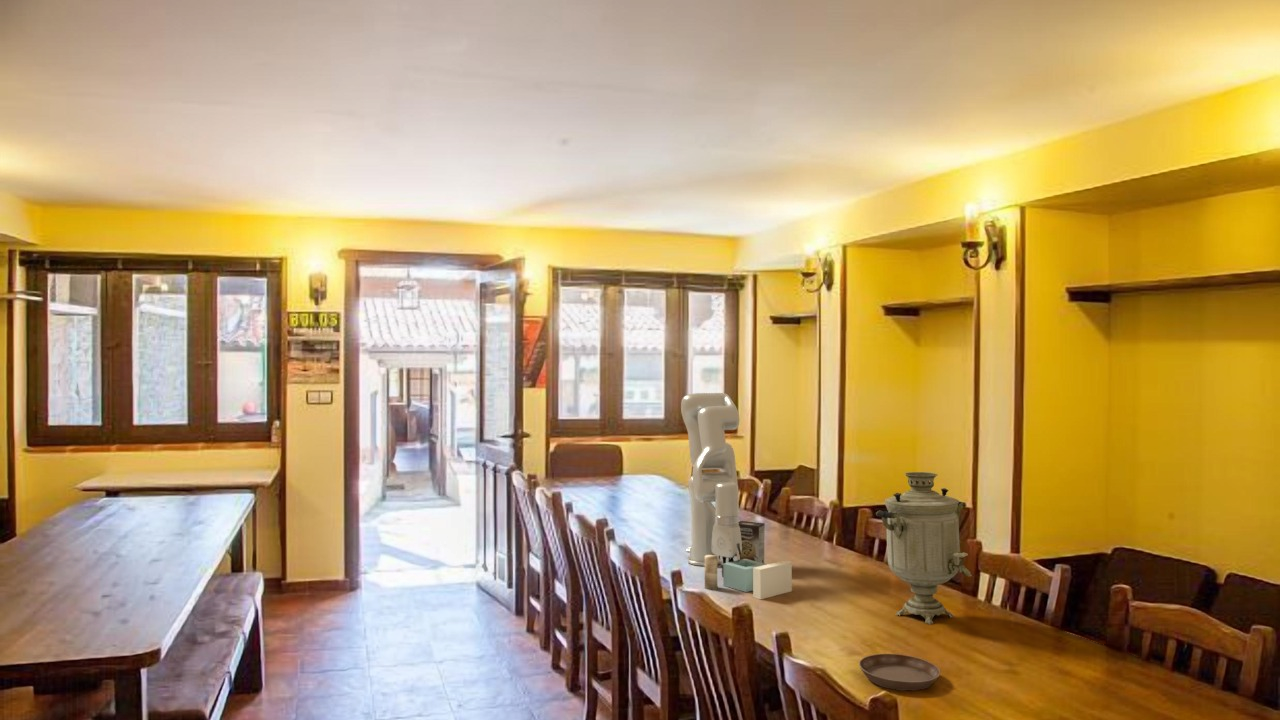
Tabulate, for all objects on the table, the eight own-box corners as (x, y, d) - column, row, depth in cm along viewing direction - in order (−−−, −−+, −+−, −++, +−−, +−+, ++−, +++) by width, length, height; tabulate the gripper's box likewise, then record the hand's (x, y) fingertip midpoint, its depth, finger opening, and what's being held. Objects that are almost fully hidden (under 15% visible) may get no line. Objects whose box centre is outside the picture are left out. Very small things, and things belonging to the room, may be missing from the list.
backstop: (753, 597, 263) (753, 567, 263) (784, 589, 272) (784, 560, 272) (760, 599, 261) (760, 569, 261) (791, 591, 270) (791, 562, 270)
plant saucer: (923, 665, 207) (923, 652, 206) (952, 694, 189) (952, 680, 189) (849, 666, 206) (849, 653, 206) (872, 695, 188) (872, 681, 188)
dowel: (702, 587, 275) (702, 556, 275) (711, 585, 277) (711, 554, 277) (710, 590, 272) (710, 558, 272) (720, 588, 274) (719, 556, 274)
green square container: (723, 585, 277) (723, 563, 276) (745, 580, 283) (745, 558, 283) (745, 592, 269) (745, 569, 269) (768, 586, 275) (768, 564, 275)
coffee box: (733, 570, 296) (733, 523, 296) (740, 566, 302) (740, 520, 301) (758, 573, 292) (758, 525, 291) (765, 569, 297) (765, 522, 297)
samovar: (907, 638, 225) (907, 484, 224) (856, 609, 250) (855, 471, 250) (1005, 628, 233) (1005, 479, 232) (946, 601, 258) (945, 467, 257)
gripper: (702, 518, 286) (703, 574, 286) (734, 525, 274) (735, 583, 274) (719, 516, 290) (720, 570, 290) (751, 522, 278) (752, 579, 278)
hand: (727, 576), depth 282 cm, fingers closed
